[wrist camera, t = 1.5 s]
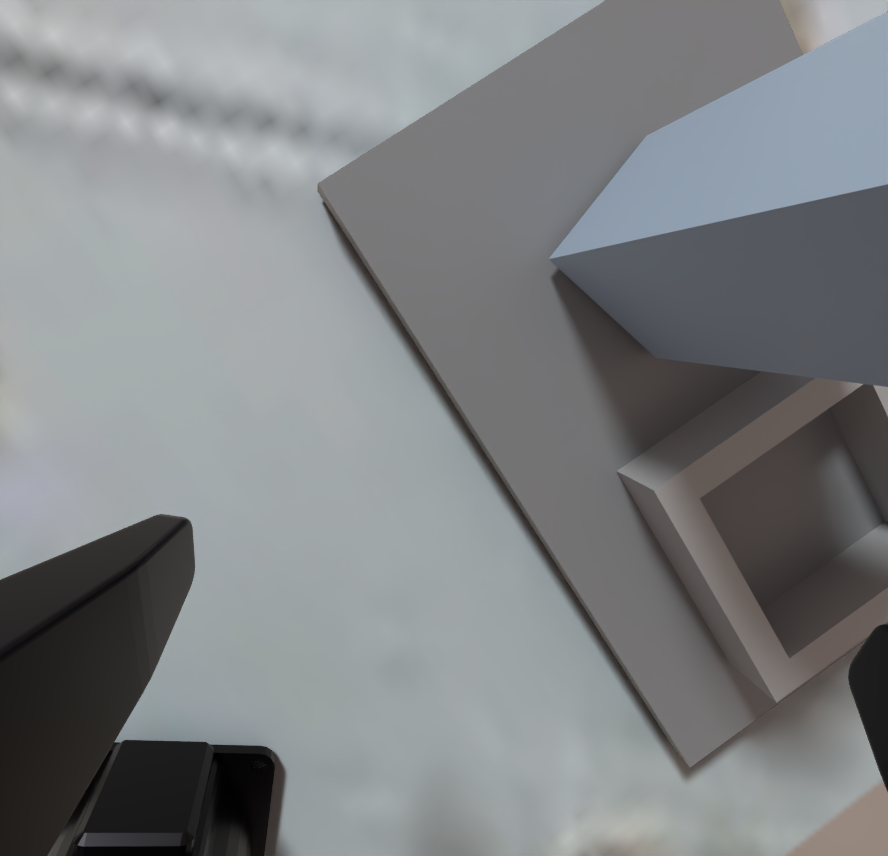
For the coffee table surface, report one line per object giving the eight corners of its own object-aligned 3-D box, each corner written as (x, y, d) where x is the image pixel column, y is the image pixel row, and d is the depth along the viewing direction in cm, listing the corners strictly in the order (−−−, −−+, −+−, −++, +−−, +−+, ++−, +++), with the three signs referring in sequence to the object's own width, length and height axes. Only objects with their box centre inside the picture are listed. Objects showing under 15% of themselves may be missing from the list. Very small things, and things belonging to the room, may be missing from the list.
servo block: (656, 358, 21) (1179, 422, 8) (548, 259, 20) (967, 166, 7) (748, 240, 21) (1408, 134, 8) (646, 135, 20) (1233, -167, 7)
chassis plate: (980, 523, 26) (1084, 555, 22) (672, 746, 25) (730, 817, 22) (717, -64, 21) (799, -140, 17) (317, 191, 20) (318, 165, 16)
